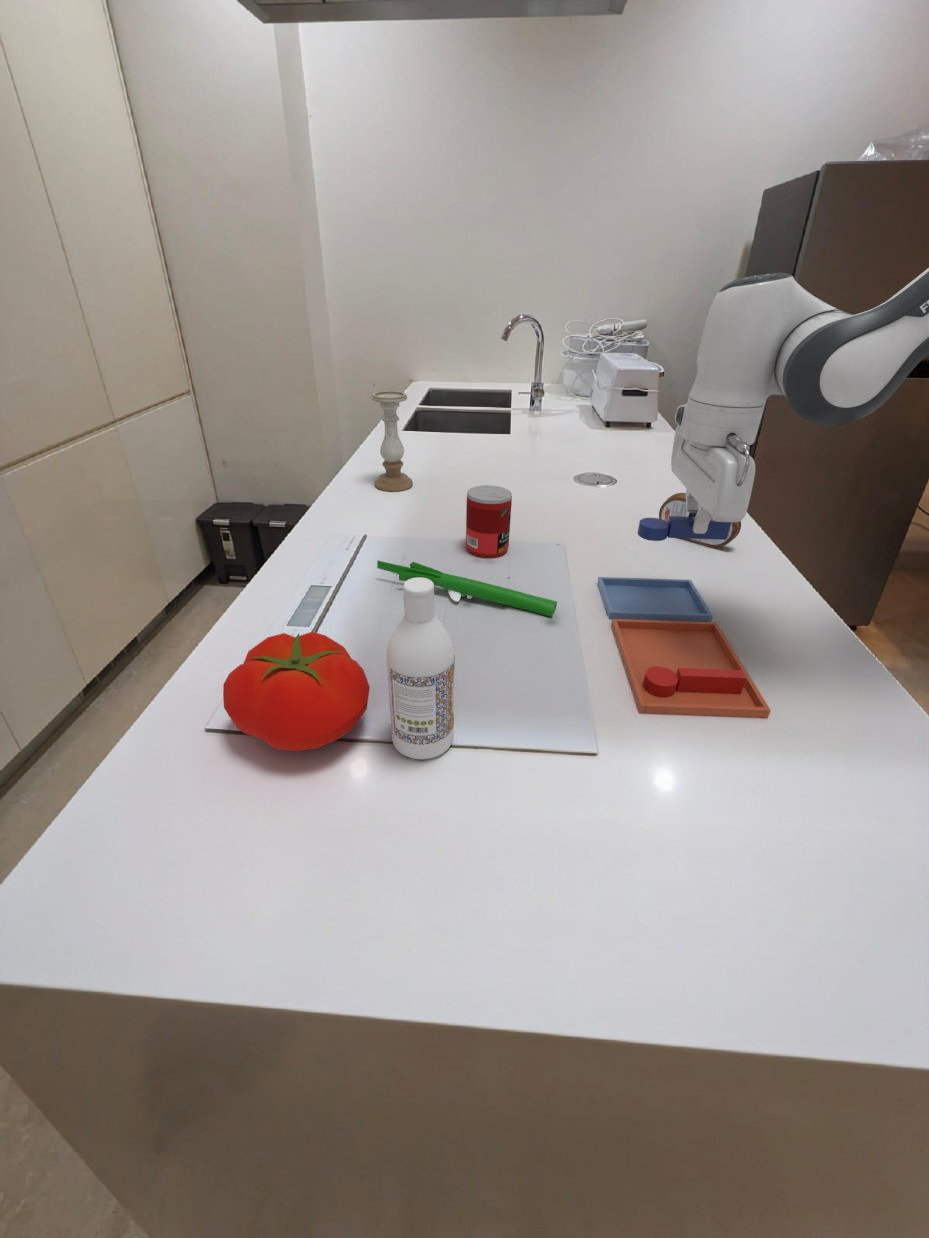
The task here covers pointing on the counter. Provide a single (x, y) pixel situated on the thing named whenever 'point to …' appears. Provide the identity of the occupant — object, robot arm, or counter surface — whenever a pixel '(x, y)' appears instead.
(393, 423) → the candle holder
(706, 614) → the slate tray
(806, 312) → the robot arm
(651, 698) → the terracotta tray
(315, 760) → the counter surface
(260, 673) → the tomato
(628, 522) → the counter surface
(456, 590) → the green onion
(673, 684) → the red spoon
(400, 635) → the bath foam
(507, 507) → the canned food
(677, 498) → the tin
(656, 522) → the blue spoon
